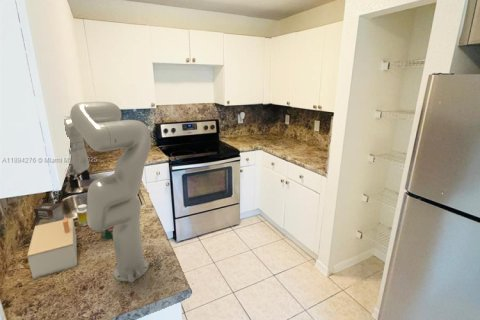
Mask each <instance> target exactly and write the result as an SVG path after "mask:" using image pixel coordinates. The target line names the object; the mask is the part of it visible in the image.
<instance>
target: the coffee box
mask: <svg viewBox="0 0 480 320" xmlns="http://www.w3.org/2000/svg"><path fill="white" fill-rule="evenodd" d="M33 212H34V215H35V221H36V226H37V225H42V224H47V223H51V222H56V221H61V220H63V219H65V216H64V210H63V206H62V203H55V202H54V203H53V202H43V203H41V204H39V205H38V206H36V207H35V208H33Z"/></svg>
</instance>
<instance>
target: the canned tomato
mask: <svg viewBox="0 0 480 320" xmlns="http://www.w3.org/2000/svg"><path fill="white" fill-rule="evenodd" d="M113 228H114V227H111V228H109V229H106V230H104V231H100V236H101V237H100V238H101V240H103V241H113Z"/></svg>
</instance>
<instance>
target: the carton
mask: <svg viewBox="0 0 480 320" xmlns="http://www.w3.org/2000/svg"><path fill="white" fill-rule="evenodd" d="M77 238H78V237H77V232H76V228H75V223H74V220H73V245H72V246H68V247H64V248H61V249H57V250H53V251H49V252H45V253H42V254H38V255H34V256H30V257H27V260H28V263H29V268H30V272H31V276H32V279H33V280H35V279H38V278H42V277H46V276H49V275H52V274H55V273H58V272H62V271H65V270H69V269H73V268H75V267H78V249H77V248H78V247H77Z"/></svg>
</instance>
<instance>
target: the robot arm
mask: <svg viewBox="0 0 480 320" xmlns="http://www.w3.org/2000/svg"><path fill="white" fill-rule="evenodd" d="M69 114H70V115H68V116H67V117H66V116H65V117H66V119H64V125H65V131H66V135H67V137H69V139H70V148H71V161H70V164H69V167H68V171H67V174H65V175H66V179H67V180H68V181H69V187H70V189H79V187H80V185H79V184H80V183H79V180H78V178H77V176H78V174H81V180H82V181H90V180H91V178H90V169H89V168H90V161H89V157H88V153H87V149H86V148H85V142H86V144H87V145H88V146H89V147H90V148H91V149H92V150H94V151H96V152H100V153H101V152H102V153H103V152H108V151H113V150H119V149H124V151H123V152H122V153H121V154H120V156H119V157H118V159H117V160H116V163H115V168H114V169H115V170H114V173H113V174H111V175H108V176H104V177H101V178H97V179H95V180H93V181H92V182H91V183H90V184H89V186H88V188H87V197H86V198H87V199H86V205H87V212H86V216H87V222H88V225H87V226H88V227H89V228H90V229H91V230H92V231H94V232H98V233H99V232H101V231H104V230H106V229H109V228H111V227H114V228H113V239H112V241H113V247H114V255H115V261H116V266H115V268H114V269H113V277H114V280H117V281H119V282H124V283H125V282H126V283H127V282H128V283H133V282H134V281H135V280H137V279H139V278H141V277H143V275H145V274H146V273H147V272H148V271H149V262H148V260H146V259H145V258H144V254H143V253H144V252H143V242H142V234H141V233H142V232H141V222H140V220H141V219H140V218H141V207H142V206H141V202H140V198H139V197H137V195H138V194H139V192H140V189H141V185H142V179H143V177H144V176H143V175H144V170H145V167H146V162H147V161H148V157H149V155H150V152H151V147H152V137H151V133H150V130H149V128H148V126H147V125H146V124H145V123H144V122H142V121H140V120H137V119H124V120H123V119H122V116H123V115H122V111H121V109H120V108H119V106H118V105H117V104H115V103H114V102H111V101H88V102H87V101H85V102H84V101H83V102H77V103H75V104H74V105H73V106H72V107H71V110H70V113H69ZM121 119H122V120H121Z"/></svg>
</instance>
